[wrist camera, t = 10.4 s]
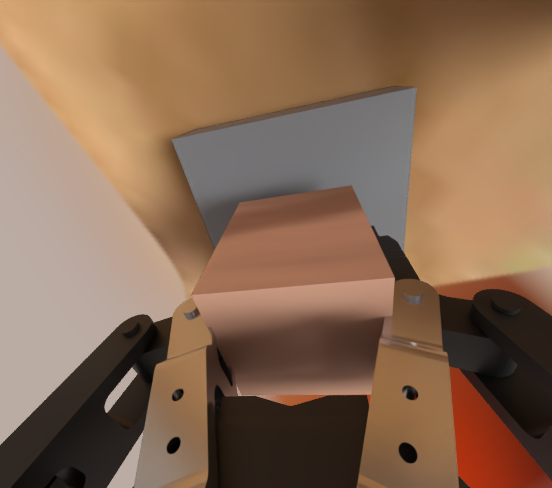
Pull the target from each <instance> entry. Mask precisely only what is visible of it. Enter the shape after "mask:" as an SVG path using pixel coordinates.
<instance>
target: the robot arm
mask: <svg viewBox="0 0 552 488" xmlns="http://www.w3.org/2000/svg"><path fill="white" fill-rule="evenodd" d="M371 228H372V230H373V232H374V234H375V236H376V238H377V241H378V243H379V245H380V247H381V249H382V251H383V253H384V256H385V258H386V260H387V262H388V264H389V266H390V268H391V271H392V273H393V275H394V277H395V282H394V297H393V313H392V316H385V317H384V324H383V331H382V337H380V340H379V346H378V353H377V359H376V366H375V372H374V379H373V385H372V392H371V399H370V405H369V404H368V399H367V395H347V396H346V395H345V396H344V395H333V396H325V397H322V398H318V399H315V400H312V401H308V402H304V403H301V404H298V405H294V406H287V405H284V404H280V403H277V402H274V401H270V400H267V399H263V398H260V397H257V396H238V394H237V388H236V380H235V374H234V372H233V370H232V368H231V367H227V365H226V363H225V361H224V359H223V357H222V355H221V353H220V351H219V349H218V347H217V341H216V336H215V334H214V332H213V330H212V328H211V327H207V326H206V324H205V322H204V320H203V318H202V316H201V314H200V312H199V310H198V308H197V306H196V304H195V302H194V300H193V298H191V299H188V300H186V301H185V302H183V303H182V304H181V305H180V306H178V307H177V309H176V310H175V312H174V314H173V317H170V318H167V319H164V320H161V321H158V322H155V323H154V322H153V321H152V319H151V318H150V317H149V316H148V315H143V314H142V315H137V316H134V317H131V318H129V319H128V320H126V321H124V322H123V323H122V324H120V325H119V326H118V327H117V328H116V329H115V330H114V331H113V332H112V333H111V334H110V335H109V336H108V338H106V339H105V340H104V341H103V342H102V343H101V344H100V345H99V346H98V347H97V348H96V350H94V351H93V352H92V354H90V356H88V358H86V359H85V361H83V363H81V365H80V366H79V367H78V368H77V369H76V370H75V371H74V372H73V373H72V374H71V375H70V376H69V377H68V378H67V379H66V380H65V381H64V382H63V383H62V384H61V385H60V386H59V387H58V388H57V389H56V390H55V391H54V392H53V393H52V394H51V395H50V396H49V397H48V398H47V399H46V400H45V401H44V402H43V403H42V404H41V405H40V406H39V407H38V408H37V409H36V410H35V411H34V412H33V413H32V414H31V415H30V416H29V417H28V418H27V419H26V420H25V421H24V422H23V423H22V424H21V425H20V426H19V427H18V428H17V429H16V430H15V431H14V432H13V433H12V434H11V435H10V436H9V437H8V438H7V439H6V440H5V441H4V442H3V443H2V444H1V445H0V488H107V486H108V485H109V483H110V481H111V480H112V478H113V477H114V475H115V474H116V472H117V471H118V469H119V468H120V466H121V464H122V463H123V461H124V460H125V458H126V456H127V455H128V453H129V452H130V450H131V449H132V447H133V446H134V444H135V443H136V441H137V440H138V438H139V436H140V435H141V433H142V432H143V430H144V432H143V438H142V444H141V449H140V455H139V461H138V466H137V472H136V478H135V484H134V486H133V488H470V487H469V486H468V485H467V484H466V483H465V482H464V481H463V480H462V479H461V478H460V477H459V476H458V469H457V457H456V446H455V433H454V421H453V409H452V397H451V385H450V373H449V366H451V367H455V368H459V369H460V370H461V372H462V373H463V374H464V375H465V377H466V378H467V379H468V380H469V381H470V383H471V384H472V385H473V386H474V387H475V389H476V390H477V391H478V392H479V393H480V395H481V396H482V397H483V398H484V400H485V401H486V402H487V403H488V404H489V405H490V407H491V408H492V409H493V410H494V412H495V413H496V414H497V415H498V416H499V418H500V419H501V420H502V421H503V422H504V424H505V425H506V426H507V427H508V429H509V430H510V431H511V432H512V433H513V435H514V436H515V437H516V438H517V439H518V441H519V442H520V443H521V444H522V445H523V446H524V448H525V449H526V450H527V451H528V453H529V454H530V455H531V456H532V458H533V459H534V460H535V461H536V462H537V464H538V465H539V466H540V467H541V468H542V470H543V471H544V472H545V473H546V474H547V476H548V477H549V478H550V479H551V481H552V316H551V315H550V314H548V313H546V312H545V311H544V310H542V309H541V308H539V307H538V306H536V305H535V304H534V303H532V302H531V301H529V300H527V299H526V298H524V297H522V296H520V295H518V294H515V293H512V292H509V291H504V290H499V289H487V290H482V291H480V292H478V293H476V294H475V295H474V297H473V301H472V300H464V299H458V298H451V297H446V296H442V295H440V294H438V292H437V291H436V290H435V288H433V287H432V286H431V285H429V284H428V283H426V282H423V281H420V279H419V277H418V276H417V274H416V272H415V271H414V269H413V267H412V266H411V264H410V262H409V260H408V259H407V257H406V256H405V254H404V252H403V250H402V249H401V247H400V245H399V243H398V242H397V241H396V240H395V239H393V238H391V237H390V236H388V235H386V236H379V235H378V233H377V231H376V229H375V227H374V226H371ZM131 367H133V369H134V370H135V371H136V372H137V376H136V377H135V378H134V380H133V381H132V382H131V383H130V385H129V386H128V387H127V389H126V390H125V391H124V392H123V394H122V395H121V397H120V398H119V399H118V400H117V402H116V403H115V404H114V405H113V407H112V408H111V409H110V410H109V412H108V413H106V412H105V409H104V405H105V402H106V399H107V398H108V396H109V394H110V393H111V392H112V391H113V390H114V388H115V387H116V386H117V385H118V383H119V382H120V381H121V379H122V378H123V377H124V376H125V375H126V374H127V372H128V371H129V370H130V369H131Z"/></svg>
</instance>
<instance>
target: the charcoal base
mask: <svg viewBox="0 0 552 488" xmlns="http://www.w3.org/2000/svg"><path fill="white" fill-rule="evenodd" d="M416 91H417V87H403V86H393V87H388V88H383V89H379V90H374V91H370V92H365V93H361V94H356V95H351V96H347V97H342V98H338V99H333V100H328V101H324V102H319V103H315V104H310V105H306V106H301V107H296V108H292V109H287V110H283V111H278V112H274V113H269V114H264V115H260V116H255V117H251V118H246V119H241V120H237V121H232V122H228V123H223V124H219V125H214V126H209V127H205V128H200V129H196V130H193V131H190V132H188V133H186V134H183V135H181V136H179V137H176V138H174V139H172V142H173V145H174V148H175V150H176V153H177V155H178V158H179V160H180V163H181V165H182V168H183V170H184V173H185V176H186V178H187V181H188V183H189V186H190V188H191V191H192V193H193V196H194V198H195V201H196V204H197V206H198V209H199V211H200V214H201V216H202V219H203V221H204V224H205V227H206V229H207V232H208V234H209V237H210V239H211V242H212V244H213V247H214V249H216V247H217V245H218V243H219V241H220V239H221V237H222V235H223V233H224V231H225V230H226V228H227V226H228V224H229V222H230V220H231V218H232V216H233V214H234V212H235V211H236V209H237V207H238V205H239V203H240V202H246V201H253V200H259V199H266V198H272V197H279V196H285V195H292V194H298V193H305V192H312V191H318V190H325V189H331V188H338V187H344V186H351V185H352V187H353V189H354V191H355V193H356V196H357V198H358V200H359V202H360V204H361V206H362V208H363V211H364V213H365V215H366V217H367V219H368V221H369V223H370V226H374V227H375V229H376V231H377V233H378V235H379V236H386V235H388V236H390V237H391V238H393V239H395V240H396V241H397V242H398V243H399V245H400V247H401V249H402V250H403V252H404V240H405V227H406V215H407V203H408V190H409V178H410V165H411V153H412V141H413V128H414V116H415V103H416Z"/></svg>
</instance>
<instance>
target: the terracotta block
mask: <svg viewBox="0 0 552 488" xmlns="http://www.w3.org/2000/svg"><path fill="white" fill-rule="evenodd" d="M394 282H395V277H394V275H393V273H392V271H391V268H390V266H389V264H388V262H387V260H386V258H385V256H384V253H383V251H382V249H381V247H380V245H379V243H378V241H377V238H376V236H375V234H374V232H373V230H372V228H371V226H370V223H369V221H368V219H367V217H366V215H365V213H364V211H363V208H362V206H361V204H360V202H359V200H358V198H357V196H356V193H355V191H354V189H353V187H352V185H351V186H344V187H338V188H331V189H325V190H318V191H312V192H305V193H298V194H292V195H285V196H279V197H272V198H266V199H259V200H253V201H246V202H240V203H239V205H238V207H237V209H236V211H235V212H234V214H233V216H232V218H231V220H230V222H229V224H228V226H227V228H226V230H225V231H224V233H223V235H222V237H221V239H220V241H219V243H218V245H217V247H216V249H215V250H214V252H213V254H212V256H211V258H210V260H209V262H208V264H207V266H206V268H205V269H204V271H203V273H202V275H201V277H200V279H199V281H198V283H197V285H196V286H195V288H194V290H193V292H192V294H191V296H192V298H193V300H194V302H195V304H196V306H197V308H198V310H199V312H200V314H201V316H202V318H203V320H204V322H205V324H206V326H207V327H211V328H212V330H213V332H214V334H215V336H216V341H217V347H218V349H219V351H220V353H221V355H222V357H223V359H224V361H225V363H226V365H227V367H231V368H232V370H233V372H234V374H235V380H236V385H237V387H238V389H239V391H240V393H241V395H332V394H333V395H335V394H337V395H341V394H343V395H344V394H345V395H346V394H371V392H372V385H373V379H374V372H375V366H376V359H377V353H378V346H379V340H380V337H382V331H383V324H384V317H385V316H392V313H393V297H394Z"/></svg>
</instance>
